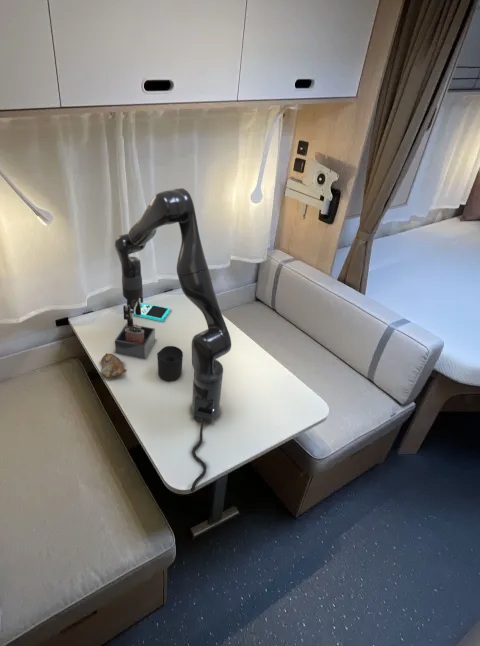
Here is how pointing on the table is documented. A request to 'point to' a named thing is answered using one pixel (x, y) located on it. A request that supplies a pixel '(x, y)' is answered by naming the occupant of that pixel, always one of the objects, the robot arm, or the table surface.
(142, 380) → the table surface
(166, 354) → the pen holder
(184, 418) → the table surface
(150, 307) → the handheld game console
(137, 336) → the lighter
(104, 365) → the decorative stone
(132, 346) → the grey square tray
